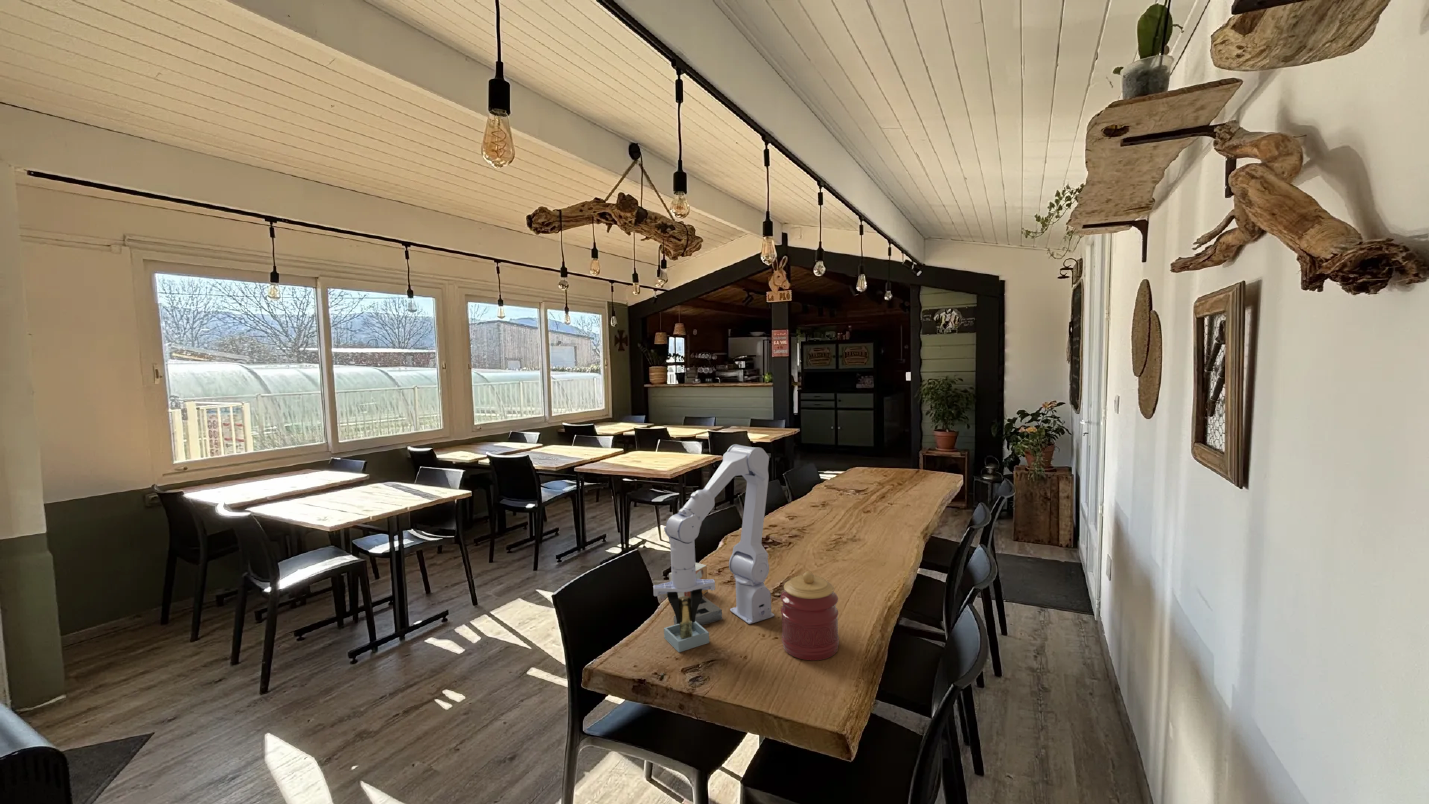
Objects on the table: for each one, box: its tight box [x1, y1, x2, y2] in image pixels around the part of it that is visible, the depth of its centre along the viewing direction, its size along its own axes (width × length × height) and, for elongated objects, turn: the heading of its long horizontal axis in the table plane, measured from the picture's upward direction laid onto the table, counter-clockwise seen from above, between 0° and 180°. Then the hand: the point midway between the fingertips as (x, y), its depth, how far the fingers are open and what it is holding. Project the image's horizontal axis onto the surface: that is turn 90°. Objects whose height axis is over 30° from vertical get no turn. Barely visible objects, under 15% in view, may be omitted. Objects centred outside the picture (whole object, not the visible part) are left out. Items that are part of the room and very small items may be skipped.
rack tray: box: [663, 621, 710, 653], centre depth 133 cm, size 8×8×2 cm
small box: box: [668, 562, 709, 598], centre depth 158 cm, size 8×6×10 cm
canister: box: [780, 571, 840, 661], centre depth 127 cm, size 13×13×18 cm
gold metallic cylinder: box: [678, 596, 693, 639], centre depth 133 cm, size 3×3×9 cm
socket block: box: [695, 595, 723, 627], centre depth 146 cm, size 11×8×3 cm
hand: (685, 621), depth 133 cm, fingers closed on gold metallic cylinder, 3 cm apart
